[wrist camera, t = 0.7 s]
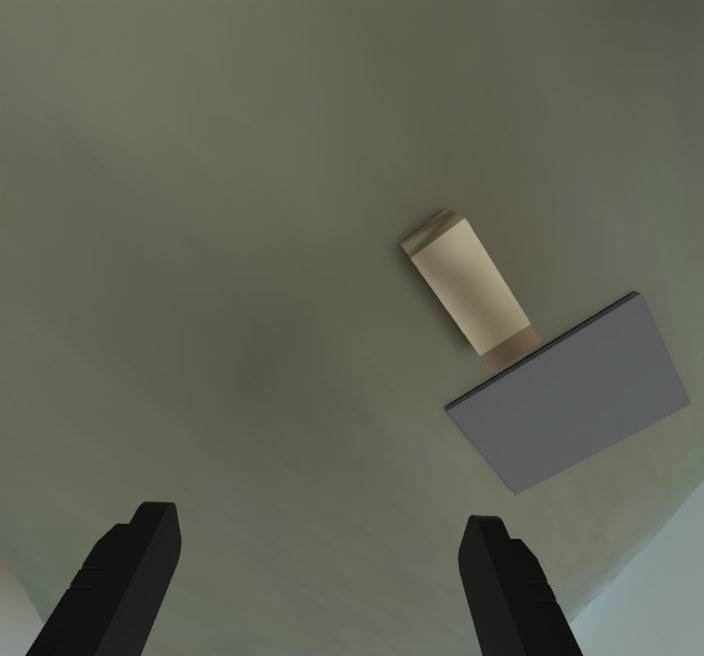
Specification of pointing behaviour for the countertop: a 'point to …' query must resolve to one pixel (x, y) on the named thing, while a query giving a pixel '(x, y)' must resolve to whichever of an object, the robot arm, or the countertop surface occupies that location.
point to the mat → (573, 397)
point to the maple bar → (471, 288)
